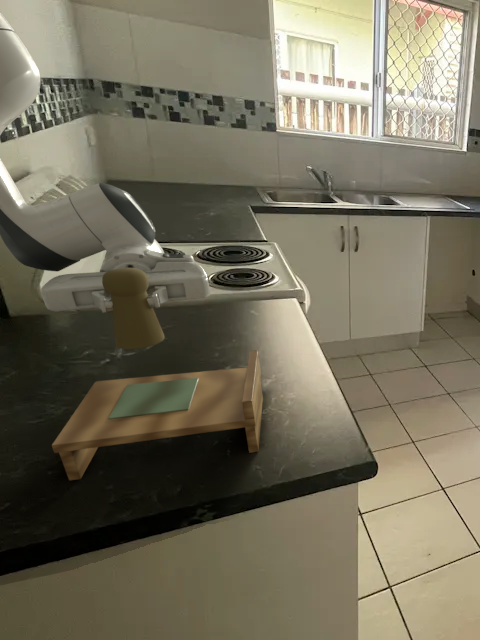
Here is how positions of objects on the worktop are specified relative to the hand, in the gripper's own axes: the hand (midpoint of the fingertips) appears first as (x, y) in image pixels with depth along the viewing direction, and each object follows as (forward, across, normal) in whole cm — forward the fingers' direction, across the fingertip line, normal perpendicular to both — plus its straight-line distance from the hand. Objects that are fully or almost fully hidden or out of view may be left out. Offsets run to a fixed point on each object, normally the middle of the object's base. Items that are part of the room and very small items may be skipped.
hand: (130, 305), depth 68 cm
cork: (-1, 0, +6) cm, 6 cm away
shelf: (+8, +3, +18) cm, 20 cm away
